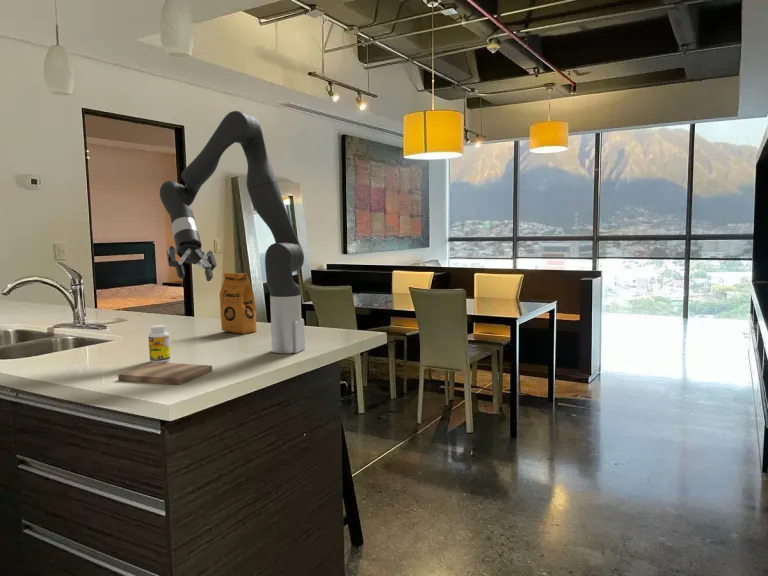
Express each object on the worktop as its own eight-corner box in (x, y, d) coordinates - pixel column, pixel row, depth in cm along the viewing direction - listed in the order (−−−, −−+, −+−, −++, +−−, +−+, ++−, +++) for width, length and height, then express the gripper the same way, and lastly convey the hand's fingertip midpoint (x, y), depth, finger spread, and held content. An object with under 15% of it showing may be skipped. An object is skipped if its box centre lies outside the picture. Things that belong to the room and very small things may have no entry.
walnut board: (212, 371, 154) (212, 365, 154) (179, 384, 141) (178, 378, 141) (155, 367, 160) (155, 362, 160) (118, 380, 146) (118, 374, 146)
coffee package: (241, 335, 206) (238, 274, 204) (217, 332, 213) (214, 273, 211) (261, 331, 215) (259, 272, 212) (238, 328, 222) (235, 271, 219)
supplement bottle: (145, 362, 166) (143, 327, 165) (158, 358, 171) (156, 324, 170) (161, 363, 164) (159, 328, 163) (174, 359, 169) (172, 324, 168)
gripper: (168, 224, 173) (178, 269, 166) (212, 231, 183) (223, 273, 176) (159, 239, 178) (168, 284, 171) (202, 244, 188) (213, 287, 181)
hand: (196, 278), depth 174 cm, fingers open, 8 cm apart
